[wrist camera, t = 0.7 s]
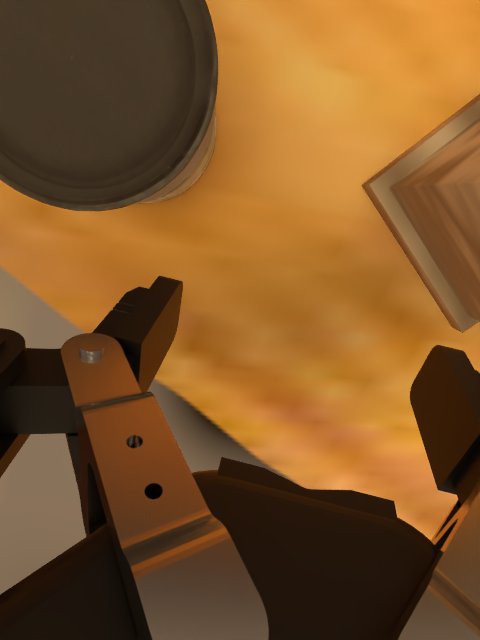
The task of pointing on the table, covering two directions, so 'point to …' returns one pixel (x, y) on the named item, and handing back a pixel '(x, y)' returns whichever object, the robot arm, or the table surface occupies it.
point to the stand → (439, 212)
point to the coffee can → (106, 99)
